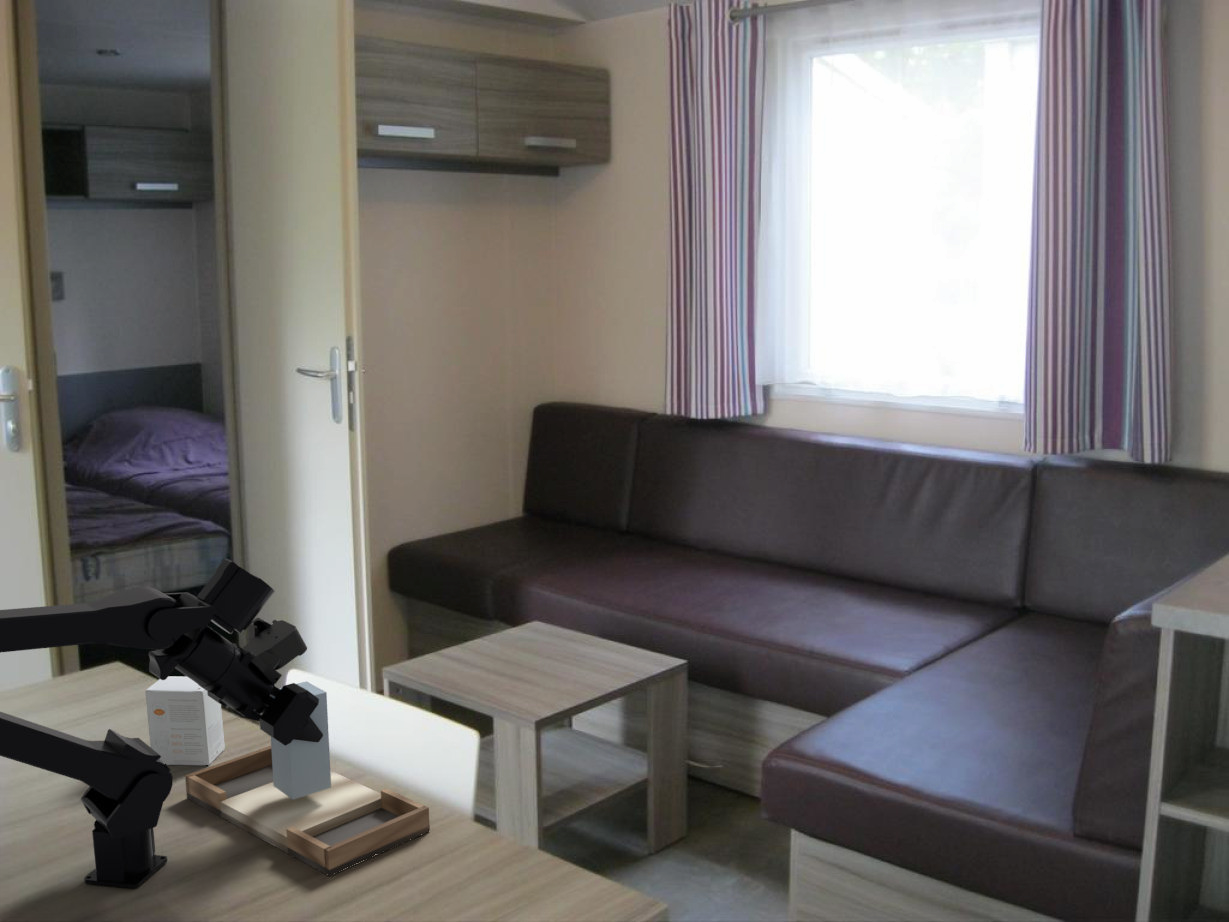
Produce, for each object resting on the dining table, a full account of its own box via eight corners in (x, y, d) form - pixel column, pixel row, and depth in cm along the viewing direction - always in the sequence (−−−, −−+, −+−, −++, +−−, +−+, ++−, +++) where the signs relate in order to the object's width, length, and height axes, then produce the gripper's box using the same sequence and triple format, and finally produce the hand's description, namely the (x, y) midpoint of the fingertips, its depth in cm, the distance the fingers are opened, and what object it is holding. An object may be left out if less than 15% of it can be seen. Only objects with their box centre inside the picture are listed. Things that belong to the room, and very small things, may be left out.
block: (331, 787, 156) (326, 692, 154) (292, 799, 153) (287, 702, 151) (311, 774, 160) (306, 681, 158) (273, 786, 156) (268, 691, 154)
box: (429, 831, 152) (428, 807, 151) (329, 876, 142) (328, 851, 141) (283, 763, 172) (282, 741, 171) (186, 798, 162) (185, 775, 161)
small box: (225, 749, 177) (220, 676, 175) (209, 767, 171) (203, 690, 169) (169, 748, 177) (163, 674, 176) (150, 765, 172) (144, 689, 170)
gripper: (298, 623, 142) (389, 696, 151) (225, 589, 156) (313, 657, 165) (234, 709, 139) (332, 778, 148) (165, 666, 153) (259, 731, 162)
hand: (309, 732), depth 156 cm, fingers closed on block, 5 cm apart
